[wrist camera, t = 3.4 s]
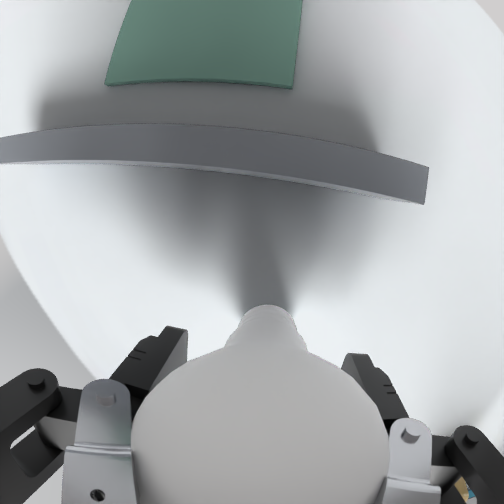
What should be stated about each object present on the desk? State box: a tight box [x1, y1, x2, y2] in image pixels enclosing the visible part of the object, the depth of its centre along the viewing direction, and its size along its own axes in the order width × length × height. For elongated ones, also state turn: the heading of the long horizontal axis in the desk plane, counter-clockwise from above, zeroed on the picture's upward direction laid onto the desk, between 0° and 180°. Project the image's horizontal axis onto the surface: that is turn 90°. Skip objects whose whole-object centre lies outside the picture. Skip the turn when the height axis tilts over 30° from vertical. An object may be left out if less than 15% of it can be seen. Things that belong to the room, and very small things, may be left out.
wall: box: [0, 124, 429, 205], centre depth 10 cm, size 18×1×4 cm, turn 82°
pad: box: [104, 0, 303, 89], centre depth 10 cm, size 9×9×1 cm
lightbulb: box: [131, 305, 390, 504], centre depth 8 cm, size 6×6×11 cm
